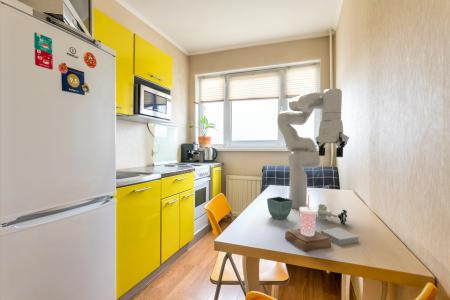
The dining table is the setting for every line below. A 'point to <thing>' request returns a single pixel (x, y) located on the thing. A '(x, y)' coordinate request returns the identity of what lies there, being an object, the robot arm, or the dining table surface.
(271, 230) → the dining table surface
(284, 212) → the flower pot
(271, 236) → the dining table surface
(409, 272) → the dining table surface
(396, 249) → the dining table surface
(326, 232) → the grey stand
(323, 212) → the valve
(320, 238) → the walnut stand
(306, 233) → the beverage cup
